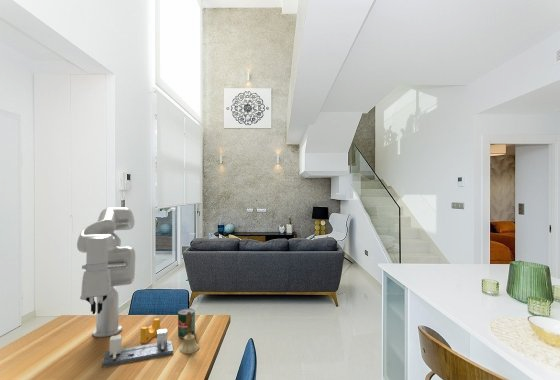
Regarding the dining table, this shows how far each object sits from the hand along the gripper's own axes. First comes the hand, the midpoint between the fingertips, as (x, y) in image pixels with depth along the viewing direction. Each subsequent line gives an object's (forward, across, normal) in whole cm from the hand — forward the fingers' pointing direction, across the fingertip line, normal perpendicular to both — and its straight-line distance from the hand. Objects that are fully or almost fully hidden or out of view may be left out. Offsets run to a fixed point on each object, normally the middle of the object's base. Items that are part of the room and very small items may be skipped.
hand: (96, 312), depth 128 cm
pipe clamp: (+20, +20, +15) cm, 32 cm away
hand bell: (+19, +36, -5) cm, 41 cm away
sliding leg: (+17, +7, -2) cm, 19 cm away
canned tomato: (+19, +36, +10) cm, 43 cm away
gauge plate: (+19, +16, -2) cm, 25 cm away
